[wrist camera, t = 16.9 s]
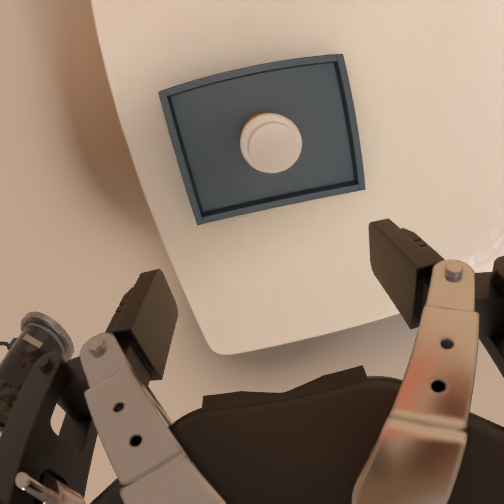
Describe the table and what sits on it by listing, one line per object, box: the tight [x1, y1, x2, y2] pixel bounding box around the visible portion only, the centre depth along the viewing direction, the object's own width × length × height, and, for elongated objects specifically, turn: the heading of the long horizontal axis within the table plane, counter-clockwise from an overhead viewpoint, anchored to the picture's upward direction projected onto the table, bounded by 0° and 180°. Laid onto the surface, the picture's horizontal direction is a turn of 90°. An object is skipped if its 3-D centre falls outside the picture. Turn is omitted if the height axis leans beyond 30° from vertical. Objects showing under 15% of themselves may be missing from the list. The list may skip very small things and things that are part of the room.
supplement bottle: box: [240, 112, 302, 173], centre depth 26 cm, size 5×5×10 cm
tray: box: [158, 54, 365, 225], centre depth 30 cm, size 20×16×2 cm
